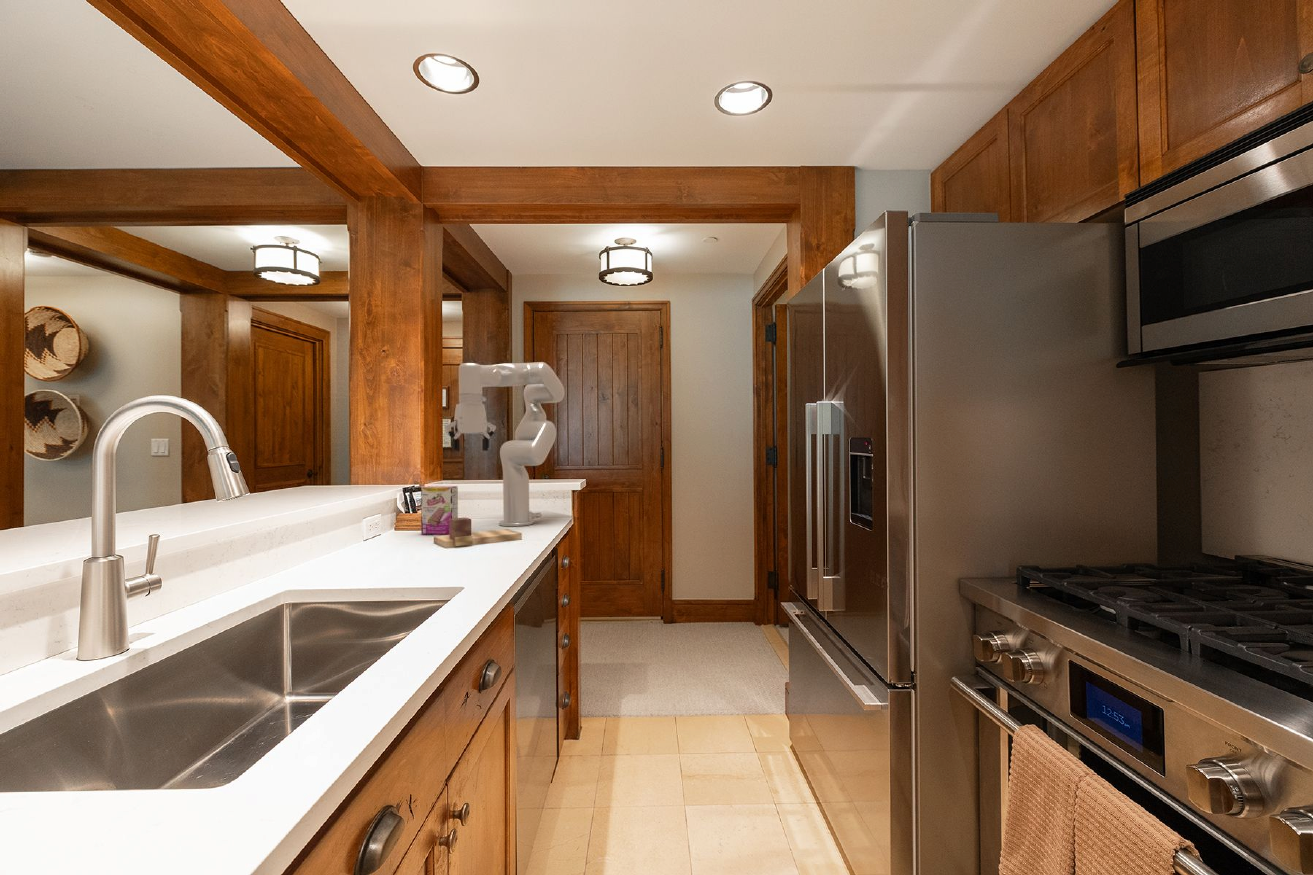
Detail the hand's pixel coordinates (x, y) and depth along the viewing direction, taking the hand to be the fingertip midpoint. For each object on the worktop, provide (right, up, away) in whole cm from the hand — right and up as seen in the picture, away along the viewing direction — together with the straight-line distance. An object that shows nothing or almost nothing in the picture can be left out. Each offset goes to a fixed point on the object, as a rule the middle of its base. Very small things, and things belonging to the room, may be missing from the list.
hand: (471, 450), depth 206 cm
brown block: (+3, -28, -21) cm, 35 cm away
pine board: (+6, -28, -13) cm, 32 cm away
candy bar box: (-11, -29, +2) cm, 31 cm away
